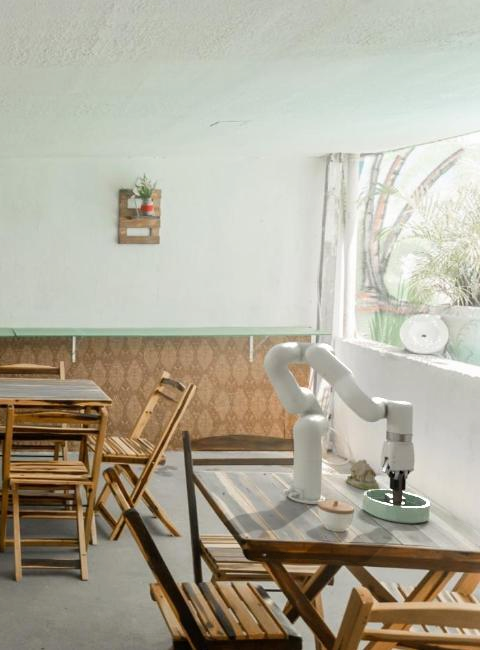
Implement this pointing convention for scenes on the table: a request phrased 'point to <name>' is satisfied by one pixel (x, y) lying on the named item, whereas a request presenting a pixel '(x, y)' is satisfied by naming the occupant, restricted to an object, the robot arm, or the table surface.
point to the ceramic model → (362, 476)
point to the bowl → (396, 507)
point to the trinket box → (335, 514)
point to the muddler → (398, 493)
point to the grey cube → (390, 497)
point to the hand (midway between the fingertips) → (397, 489)
